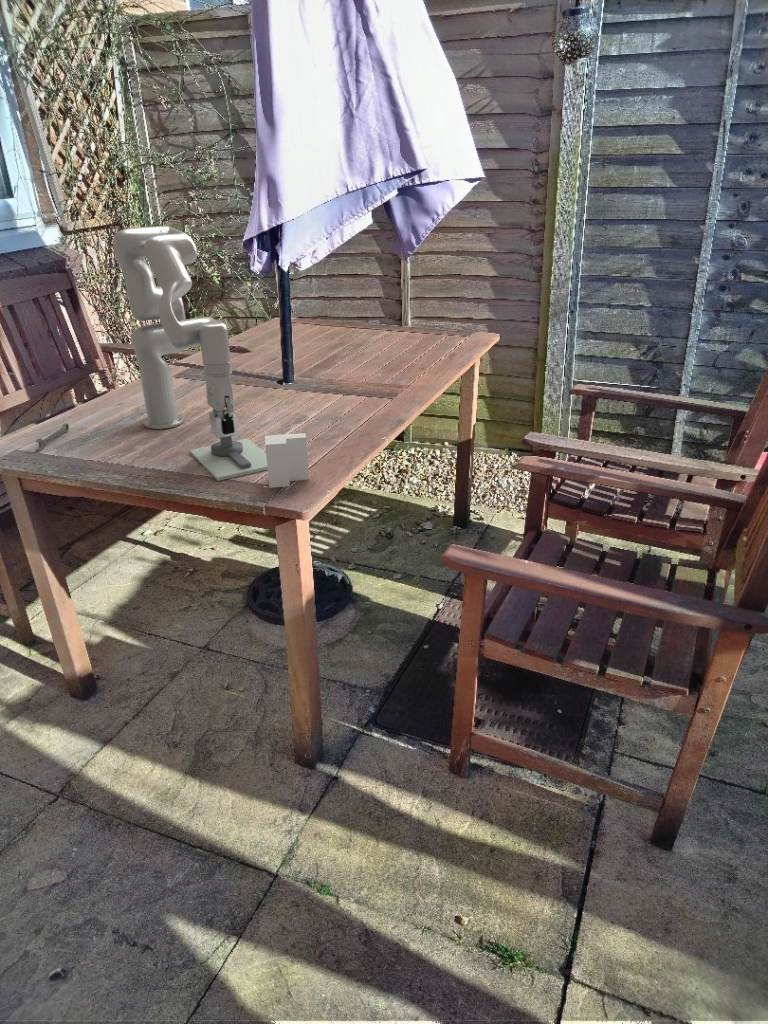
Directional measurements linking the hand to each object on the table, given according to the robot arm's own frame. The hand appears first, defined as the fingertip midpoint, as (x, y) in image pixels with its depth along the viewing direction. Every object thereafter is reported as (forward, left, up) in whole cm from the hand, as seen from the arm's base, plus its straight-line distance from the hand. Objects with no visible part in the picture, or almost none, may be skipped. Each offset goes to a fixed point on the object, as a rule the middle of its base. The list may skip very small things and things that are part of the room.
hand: (224, 429), depth 202 cm
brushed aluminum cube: (0, 0, -1) cm, 1 cm away
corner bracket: (+25, +8, -8) cm, 27 cm away
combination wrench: (-40, -42, -8) cm, 59 cm away
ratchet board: (+5, 0, -8) cm, 9 cm away
